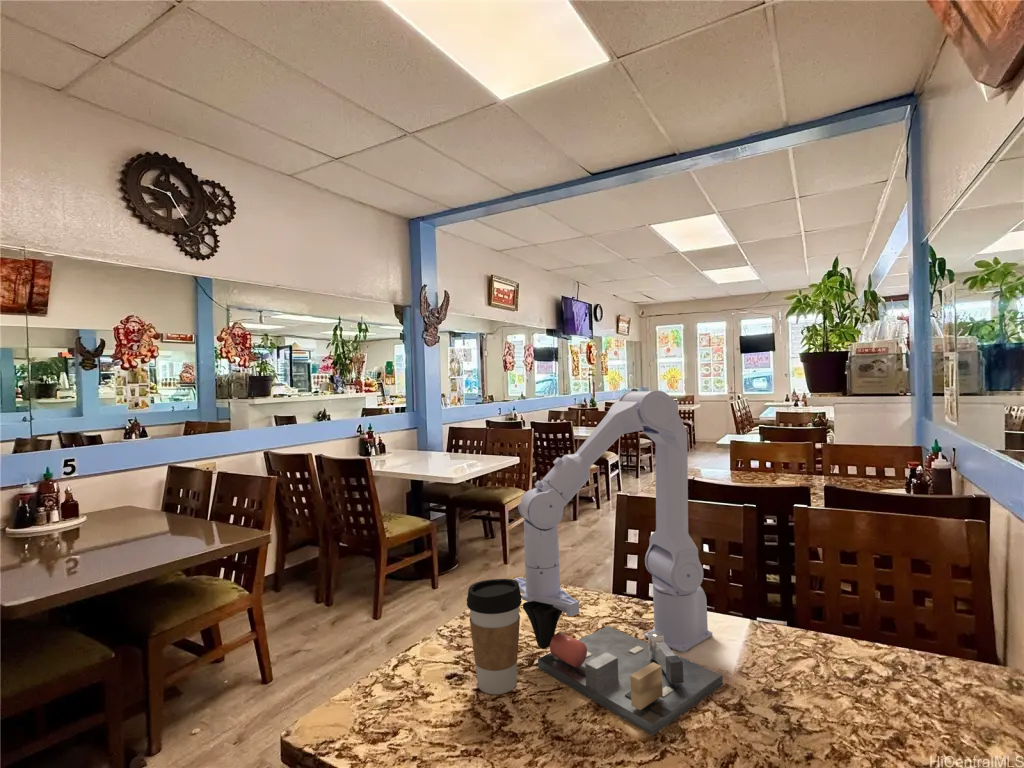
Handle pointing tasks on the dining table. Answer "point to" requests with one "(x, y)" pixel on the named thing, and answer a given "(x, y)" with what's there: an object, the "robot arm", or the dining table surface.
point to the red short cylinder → (568, 649)
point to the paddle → (646, 685)
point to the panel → (611, 683)
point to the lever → (665, 657)
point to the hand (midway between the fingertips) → (545, 645)
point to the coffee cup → (495, 633)
